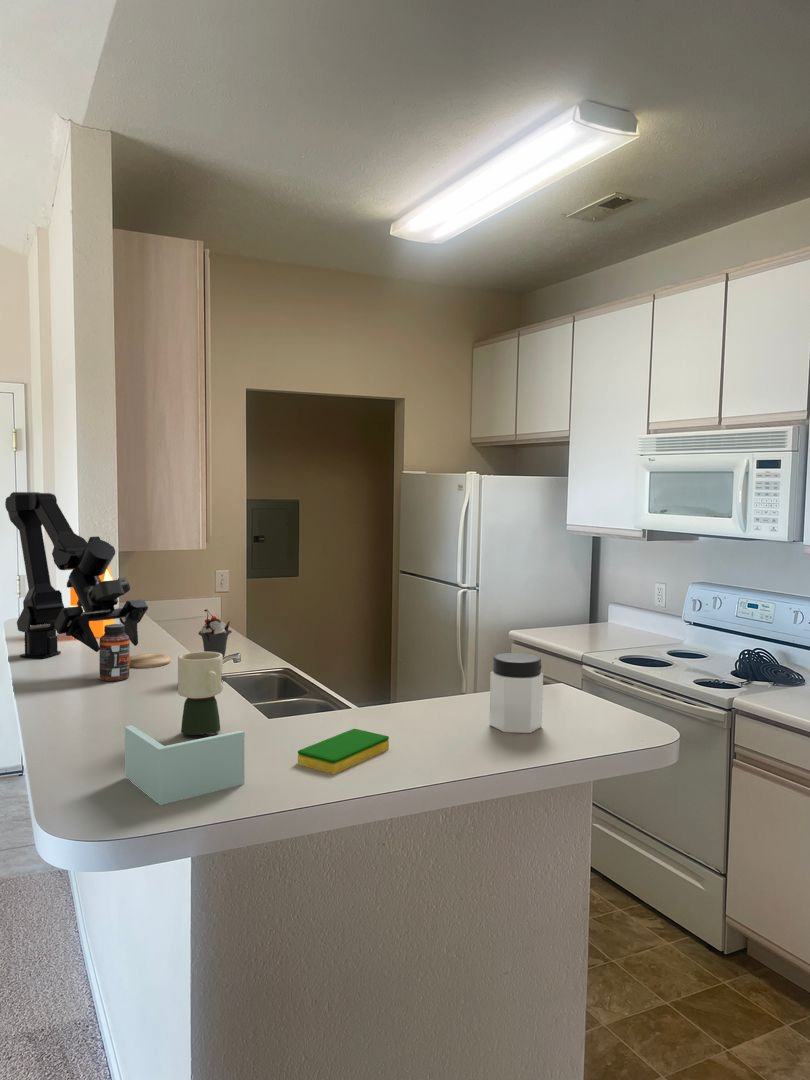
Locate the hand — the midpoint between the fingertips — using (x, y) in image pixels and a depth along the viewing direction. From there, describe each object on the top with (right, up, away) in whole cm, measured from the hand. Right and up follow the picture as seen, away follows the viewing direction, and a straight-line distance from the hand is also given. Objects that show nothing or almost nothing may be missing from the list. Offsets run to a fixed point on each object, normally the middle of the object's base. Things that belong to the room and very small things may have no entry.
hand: (117, 647), depth 165 cm
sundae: (+20, -7, +2) cm, 21 cm away
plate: (+1, -6, +16) cm, 17 cm away
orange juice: (-24, -4, +49) cm, 55 cm away
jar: (+79, -10, -28) cm, 84 cm away
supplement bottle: (-1, -7, +1) cm, 7 cm away
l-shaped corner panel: (+29, -11, -56) cm, 64 cm away
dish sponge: (+51, -11, -45) cm, 68 cm away
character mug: (+26, -10, -35) cm, 45 cm away
